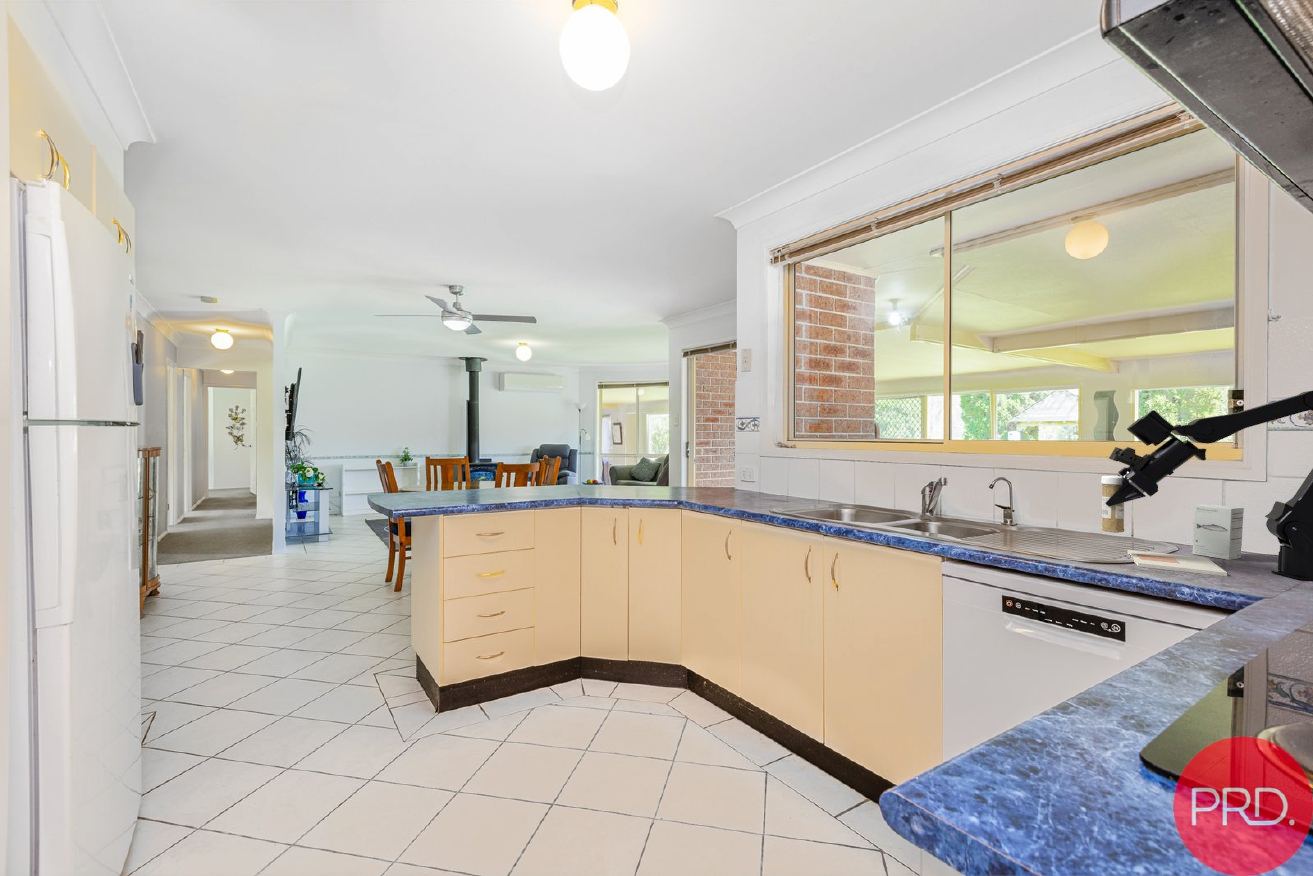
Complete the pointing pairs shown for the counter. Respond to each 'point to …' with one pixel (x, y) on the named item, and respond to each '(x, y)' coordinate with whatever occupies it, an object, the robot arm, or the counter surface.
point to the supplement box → (1218, 531)
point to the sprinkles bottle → (1111, 514)
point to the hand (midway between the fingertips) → (1106, 504)
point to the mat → (1176, 562)
